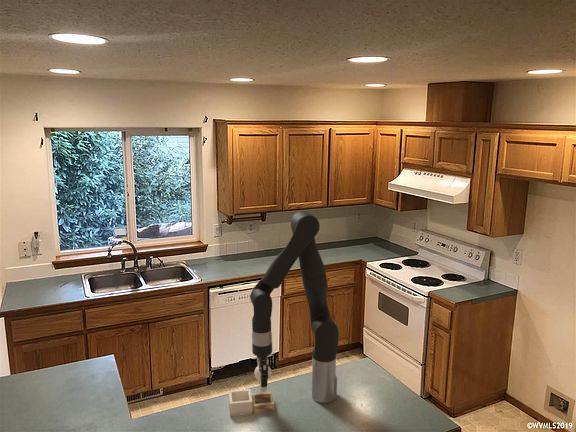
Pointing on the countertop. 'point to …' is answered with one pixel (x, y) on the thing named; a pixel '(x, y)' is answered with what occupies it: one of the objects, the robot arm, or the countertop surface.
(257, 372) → the lightbulb
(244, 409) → the cream open cubby box
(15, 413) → the countertop surface
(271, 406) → the wooden frame
